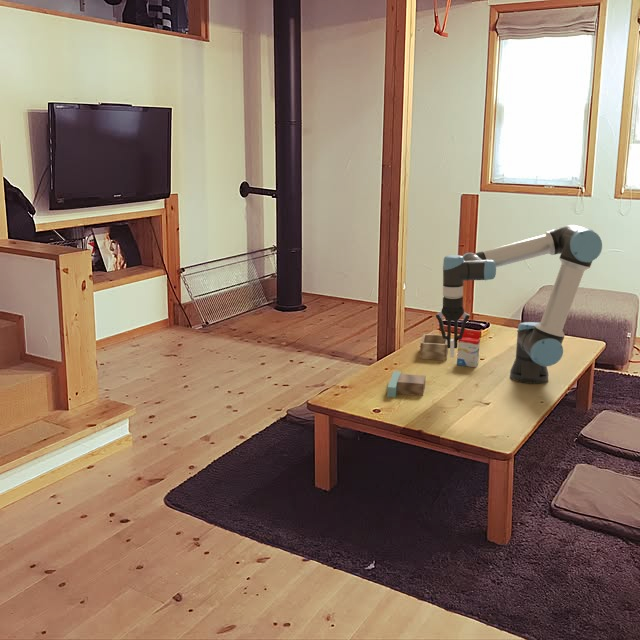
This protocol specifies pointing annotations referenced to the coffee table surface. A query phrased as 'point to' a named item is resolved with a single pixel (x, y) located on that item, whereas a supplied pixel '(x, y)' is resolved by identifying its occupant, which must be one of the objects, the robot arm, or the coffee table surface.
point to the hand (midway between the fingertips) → (452, 356)
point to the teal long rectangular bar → (393, 384)
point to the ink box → (468, 349)
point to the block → (411, 384)
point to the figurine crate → (433, 347)
